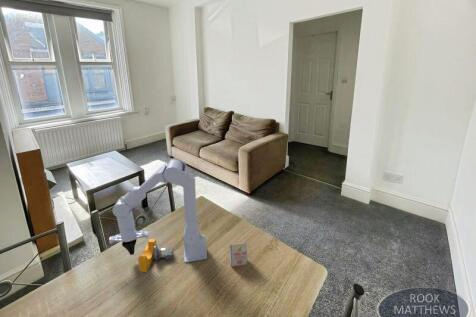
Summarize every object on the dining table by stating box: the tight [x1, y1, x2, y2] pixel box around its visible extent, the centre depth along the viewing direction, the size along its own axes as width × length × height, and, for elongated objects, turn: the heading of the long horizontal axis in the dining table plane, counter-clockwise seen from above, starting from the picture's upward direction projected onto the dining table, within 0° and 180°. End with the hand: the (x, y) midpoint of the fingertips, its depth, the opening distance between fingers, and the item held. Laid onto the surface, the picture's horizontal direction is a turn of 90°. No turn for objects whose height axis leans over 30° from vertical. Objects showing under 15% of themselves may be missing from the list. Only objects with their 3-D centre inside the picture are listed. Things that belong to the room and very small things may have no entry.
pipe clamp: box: [137, 238, 157, 273], centre depth 100 cm, size 12×4×6 cm, turn 178°
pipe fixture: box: [153, 244, 173, 262], centre depth 102 cm, size 7×6×6 cm
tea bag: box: [229, 242, 248, 268], centre depth 99 cm, size 4×7×10 cm, turn 100°
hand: (132, 253), depth 100 cm, fingers closed
